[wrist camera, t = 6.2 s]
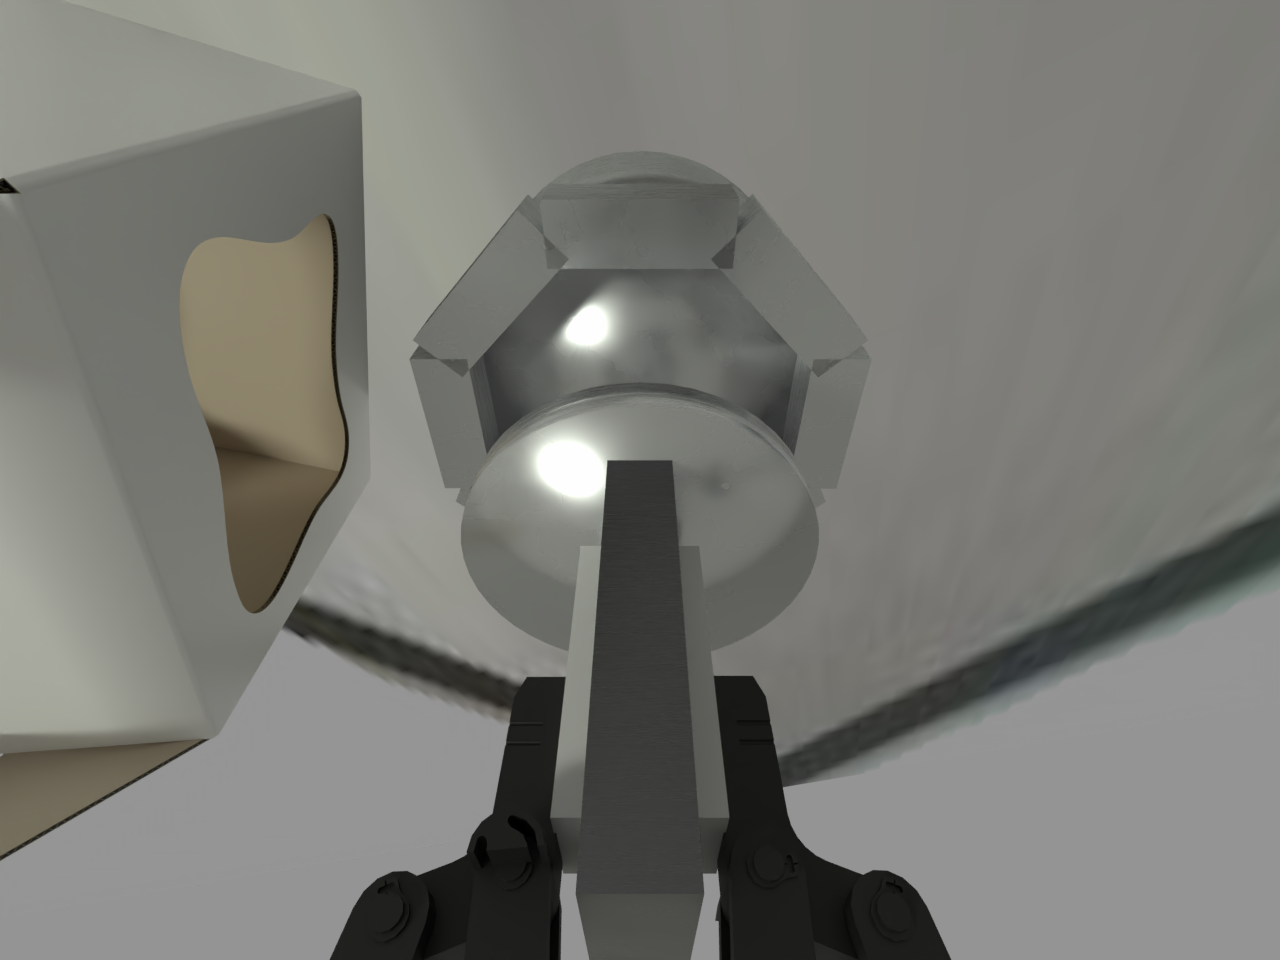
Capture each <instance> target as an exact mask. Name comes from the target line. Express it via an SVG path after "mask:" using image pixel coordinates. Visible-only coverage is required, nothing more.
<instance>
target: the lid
mask: <svg viewBox="0 0 1280 960" xmlns="http://www.w3.org/2000/svg"><path fill="white" fill-rule="evenodd" d="M818 545H819V525H818V519H817V514H816V509H815V506H814V503H813V501H812V498H811V495H810V492H809V490H808V487H807V484H806V481H805V479H804V476H803V474H802V471H801V469H800V466H799V464H798V462H797V460H796V459H795V457H794V456H793V454H792V452H791V451H790V449H789V447H788V446H787V445H786V444H785V443H784V442H783V441H782V439H781V438H780V437H779V436H778V435H777V434H776V433H775V431H773V430H772V429H771V428H770V427H769V426H767V425H766V424H765V423H764V422H763V421H761V420H760V419H759V418H758V417H756V416H754V415H753V414H751V413H750V412H748V411H746V410H745V409H743V408H742V407H740V406H738V405H736V404H734V403H732V402H729V401H727V400H725V399H723V398H720V397H718V396H716V395H712V394H709V393H706V392H703V391H699V390H696V389H693V388H688V387H682V386H676V385H671V384H662V383H645V382H635V383H618V384H609V385H603V386H598V387H592V388H587V389H584V390H580V391H577V392H574V393H571V394H567V395H564V396H562V397H559V398H557V399H555V400H553V401H550V402H548V403H546V404H544V405H542V406H540V407H538V408H537V409H535V410H533V411H532V412H530V413H529V414H527V415H525V416H524V417H522V418H521V419H520V420H518V421H517V422H516V423H515V424H514V425H512V426H511V427H510V428H509V429H508V430H506V431H505V432H504V433H503V434H502V436H501V437H500V438H499V439H498V440H497V441H496V442H495V444H494V445H493V446H492V447H491V449H490V450H489V452H488V453H487V455H486V457H485V458H484V460H483V461H482V463H481V465H480V468H479V470H478V473H477V475H476V478H475V480H474V483H473V486H472V489H471V492H470V494H469V497H468V500H467V503H466V506H465V508H464V513H463V518H462V523H461V546H462V552H463V558H464V561H465V564H466V567H467V569H468V572H469V575H470V576H471V578H472V580H473V582H474V584H475V585H476V587H477V589H478V590H479V592H480V593H481V594H482V595H483V597H484V598H485V599H486V601H487V602H488V603H489V604H490V605H491V606H492V607H493V608H494V609H495V610H496V611H497V612H498V613H499V614H500V615H501V616H503V617H504V618H505V619H506V620H508V621H509V622H510V623H512V624H513V625H514V626H516V627H517V628H519V629H521V630H522V631H524V632H525V633H527V634H529V635H530V636H532V637H534V638H537V639H539V640H541V641H543V642H545V643H547V644H549V645H552V646H555V647H557V648H560V649H563V650H566V651H569V645H570V636H571V627H572V618H573V609H574V600H575V591H576V582H577V573H578V564H579V555H580V546H601V553H600V567H599V581H598V594H597V608H596V622H595V635H594V649H593V662H592V676H591V690H590V703H589V717H588V730H587V744H586V758H585V771H584V785H583V799H582V812H581V826H580V839H579V853H578V867H577V881H576V899H577V903H578V908H579V913H580V918H581V922H582V927H583V932H584V936H585V941H586V946H587V951H588V955H589V960H691V955H692V950H693V946H694V941H695V936H696V931H697V927H698V922H699V917H700V912H701V907H702V903H703V898H704V882H703V868H702V855H701V841H700V827H699V814H698V800H697V787H696V773H695V760H694V746H693V733H692V719H691V706H690V692H689V679H688V665H687V651H686V638H685V624H684V611H683V597H682V584H681V570H680V557H679V546H699V550H700V558H701V567H702V576H703V585H704V594H705V603H706V612H707V621H708V630H709V639H710V648H711V651H714V650H717V649H720V648H722V647H725V646H728V645H730V644H733V643H735V642H737V641H739V640H741V639H743V638H745V637H747V636H749V635H751V634H753V633H754V632H756V631H757V630H759V629H761V628H762V627H764V626H765V625H767V624H768V623H769V622H771V621H772V620H773V619H775V618H776V617H777V616H778V615H780V614H781V613H782V612H783V611H784V610H785V609H786V608H787V607H788V606H789V605H790V604H791V603H792V601H793V600H794V599H795V598H796V596H797V595H798V594H799V592H800V591H801V590H802V588H803V587H804V585H805V583H806V581H807V579H808V578H809V576H810V574H811V571H812V568H813V566H814V563H815V560H816V556H817V550H818Z"/></svg>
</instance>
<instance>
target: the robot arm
mask: <svg viewBox="0 0 1280 960" xmlns="http://www.w3.org/2000/svg"><path fill="white" fill-rule="evenodd" d="M600 553H601V546H580V555H579V564H578V573H577V582H576V591H575V600H574V609H573V618H572V627H571V636H570V645H569V654H568V663H567V672H566V677H526V679H525V681H524V682H523V684H522V685H521V687H520V689H519V690H518V692H517V693H516V695H515V697H514V700H513V705H512V711H511V716H510V725H509V727H508V732H507V738H506V745H505V749H504V754H503V759H502V765H501V770H500V776H499V781H498V786H497V792H496V797H495V803H494V808H493V814H491V815H490V816H488V817H487V818H486V819H484V820H483V821H482V822H481V823H480V824H479V826H478V827H477V829H476V830H475V832H474V833H473V834H472V836H471V839H470V843H469V846H468V849H467V854H466V855H465V856H464V857H461V858H460V859H458V860H456V861H454V862H451V863H449V864H446V865H444V866H441V867H438V868H436V869H433V870H430V871H428V872H425V873H423V874H420V875H415V874H413V873H411V872H409V871H393V872H390V873H388V874H386V875H384V876H382V877H380V878H377V879H376V880H375V881H374V882H373V883H372V884H371V885H370V886H369V887H368V888H367V889H365V890H364V891H363V893H362V894H361V896H360V898H359V899H358V901H357V903H356V904H355V906H354V907H353V909H352V911H351V914H350V916H349V918H348V920H347V922H346V924H345V927H344V929H343V931H342V933H341V935H340V938H339V940H338V942H337V944H336V946H335V949H334V951H333V953H332V955H331V957H330V960H561V921H562V907H561V901H560V888H561V877H562V870H563V873H564V874H577V867H578V853H579V839H580V826H581V812H582V799H583V785H584V771H585V758H586V744H587V730H588V717H589V703H590V690H591V676H592V662H593V649H594V635H595V622H596V608H597V594H598V581H599V567H600ZM679 557H680V570H681V584H682V597H683V611H684V624H685V638H686V651H687V665H688V679H689V692H690V706H691V719H692V733H693V746H694V760H695V773H696V787H697V800H698V814H699V827H700V841H701V855H702V868H703V874H716V873H717V869H718V878H719V888H720V898H719V902H718V906H717V911H716V918H715V921H719V960H951V958H950V955H949V953H948V951H947V949H946V947H945V944H944V942H943V940H942V938H941V936H940V934H939V931H938V929H937V927H936V925H935V923H934V920H933V918H932V916H931V914H930V912H929V910H928V907H927V906H926V904H925V902H924V901H923V899H922V898H921V896H920V895H919V893H918V891H917V890H916V889H915V888H914V887H913V886H912V885H911V884H909V883H908V882H907V881H906V880H905V879H904V878H903V877H900V876H898V875H896V874H894V873H892V872H890V871H886V870H872V871H870V872H868V873H866V874H864V875H863V874H860V873H857V872H854V871H852V870H849V869H847V868H844V867H842V866H839V865H836V864H834V863H831V862H828V861H826V860H824V859H822V858H820V857H818V856H816V855H815V854H814V853H813V852H811V851H810V850H809V849H808V848H806V847H805V846H804V844H803V843H802V842H801V841H800V839H799V838H798V837H797V835H796V834H795V832H794V830H793V828H792V826H791V823H790V820H789V817H788V813H787V807H786V802H785V797H784V791H783V786H782V780H781V775H780V769H779V764H778V759H777V753H776V748H775V745H774V737H773V732H772V726H771V724H770V716H769V710H768V705H767V699H766V696H765V694H764V693H763V691H762V689H761V688H760V686H759V685H758V683H757V681H756V680H755V678H754V677H753V676H714V675H713V666H712V657H711V648H710V639H709V630H708V621H707V612H706V603H705V594H704V585H703V576H702V567H701V558H700V550H699V546H679Z"/></svg>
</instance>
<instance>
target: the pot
mask: <svg viewBox="0 0 1280 960" xmlns="http://www.w3.org/2000/svg"><path fill="white" fill-rule="evenodd" d="M413 341H414V342H416V343H417V344H418V345H419V346H418V347H417V349H416V350H415V352H414V353H413V355H412V356H411V357H410V359H409V360H410V363H411V367H412V371H413V374H414V378H415V382H416V385H417V389H418V392H419V396H420V400H421V403H422V407H423V410H424V414H425V418H426V421H427V425H428V428H429V432H430V436H431V439H432V443H433V447H434V450H435V454H436V457H437V461H438V465H439V468H440V472H441V475H442V479H443V483H444V486H445V488H461V489H460V491H459V494H458V497H457V499H456V502H458V503H459V504H461V505H462V506H464V507H465V506H466V503H467V500H468V497H469V494H470V492H471V489H472V486H473V483H474V480H475V478H476V475H477V473H478V470H479V468H480V465H481V463H482V461H483V460H484V458H485V457H486V455H487V453H488V452H489V450H490V449H491V447H492V446H493V445H494V444H495V442H496V441H497V440H498V439H499V438H500V437H501V436H502V434H503V433H504V432H505V431H506V430H508V429H509V428H510V427H511V426H512V425H514V424H515V423H516V422H517V421H518V420H520V419H521V418H522V417H524V416H525V415H527V414H529V413H530V412H532V411H533V410H535V409H537V408H538V407H540V406H542V405H544V404H546V403H548V402H550V401H553V400H555V399H557V398H559V397H562V396H564V395H567V394H571V393H574V392H577V391H580V390H584V389H587V388H592V387H598V386H603V385H609V384H618V383H635V382H645V383H662V384H671V385H676V386H682V387H688V388H693V389H696V390H699V391H703V392H706V393H709V394H712V395H716V396H718V397H720V398H723V399H725V400H727V401H729V402H732V403H734V404H736V405H738V406H740V407H742V408H743V409H745V410H746V411H748V412H750V413H751V414H753V415H754V416H756V417H758V418H759V419H760V420H761V421H763V422H764V423H765V424H766V425H767V426H769V427H770V428H771V429H772V430H773V431H775V433H776V434H777V435H778V436H779V437H780V438H781V439H782V441H783V442H784V443H785V444H786V445H787V446H788V447H789V449H790V451H791V452H792V454H793V456H794V457H795V459H796V460H797V462H798V464H799V466H800V469H801V471H802V474H803V476H804V479H805V481H806V484H807V487H808V490H809V492H810V495H811V498H812V501H813V503H814V506H815V508H817V507H818V506H820V505H821V504H823V503H825V502H826V501H825V499H824V496H823V493H822V491H821V489H836V488H837V484H838V481H839V477H840V473H841V470H842V466H843V462H844V459H845V455H846V451H847V448H848V444H849V440H850V437H851V433H852V430H853V426H854V422H855V419H856V415H857V411H858V408H859V404H860V400H861V397H862V393H863V389H864V386H865V382H866V378H867V375H868V371H869V367H870V364H871V360H872V359H871V357H870V356H869V354H868V353H867V352H866V350H865V349H864V347H863V346H862V345H863V344H864V343H865V342H867V341H868V339H867V338H866V336H865V335H864V333H863V332H862V331H861V329H860V328H859V326H858V325H857V323H856V322H855V321H854V319H853V318H852V316H851V315H850V314H849V313H848V311H847V310H846V309H845V308H844V306H843V305H842V304H841V303H840V301H839V300H838V299H837V298H836V296H835V295H834V294H833V293H832V291H831V290H830V289H829V288H828V287H827V285H826V284H825V283H824V282H823V280H822V279H821V278H820V277H819V275H818V274H817V273H816V272H815V270H814V269H813V268H812V267H811V265H810V264H809V263H808V262H807V261H806V259H805V258H804V257H803V256H802V254H801V253H800V252H799V251H798V249H797V248H796V247H795V246H794V244H793V243H792V242H791V241H790V239H789V238H788V237H787V236H786V235H785V233H784V232H783V231H782V230H781V228H780V227H779V226H778V225H777V223H776V222H775V221H774V220H773V218H772V217H771V216H770V215H769V214H768V212H767V211H766V210H765V209H764V207H763V206H762V205H761V204H760V202H759V201H758V200H757V199H756V197H755V196H754V195H753V194H752V195H751V196H750V197H749V198H748V197H747V196H746V195H745V194H744V193H743V192H742V190H741V189H740V188H738V187H737V186H736V185H734V184H733V183H732V182H731V181H729V180H728V179H727V178H726V177H724V176H723V175H721V174H719V173H718V172H716V171H714V170H712V169H711V168H709V167H707V166H705V165H703V164H701V163H698V162H695V161H693V160H690V159H688V158H685V157H681V156H677V155H672V154H668V153H663V152H651V151H631V152H619V153H614V154H610V155H606V156H601V157H597V158H595V159H592V160H589V161H587V162H584V163H582V164H579V165H577V166H575V167H573V168H572V169H570V170H568V171H566V172H565V173H563V174H561V175H560V176H558V177H557V178H556V179H554V180H553V181H552V182H550V183H549V184H548V185H547V186H545V187H544V188H543V189H542V190H541V191H540V192H539V193H538V194H537V195H536V196H535V197H534V198H533V199H532V198H531V197H530V196H529V195H528V194H527V196H526V197H525V198H524V199H523V201H522V202H521V203H520V204H519V206H518V207H517V208H516V209H515V211H514V212H513V213H512V214H511V216H510V217H509V218H508V219H507V221H506V222H505V223H504V224H503V226H502V227H501V228H500V229H499V231H498V232H497V233H496V234H495V236H494V237H493V238H492V239H491V241H490V242H489V243H488V244H487V246H486V247H485V248H484V249H483V251H482V252H481V253H480V254H479V256H478V257H477V258H476V259H475V261H474V262H473V263H472V264H471V265H470V267H469V268H468V269H467V270H466V272H465V273H464V274H463V275H462V277H461V278H460V279H459V280H458V282H457V283H456V284H455V285H454V287H453V288H452V289H451V290H450V292H449V293H448V294H447V295H446V297H445V298H444V299H443V300H442V302H441V303H440V304H439V305H438V307H437V308H436V309H435V310H434V312H433V313H432V314H431V315H430V317H429V318H428V319H427V321H426V322H425V324H424V325H423V326H422V328H421V329H420V331H419V332H418V333H417V335H416V336H415V338H414V339H413Z"/></svg>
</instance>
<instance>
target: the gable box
mask: <svg viewBox="0 0 1280 960" xmlns="http://www.w3.org/2000/svg"><path fill="white" fill-rule="evenodd" d="M370 478H371V469H370V428H369V387H368V346H367V305H366V263H365V222H364V181H363V140H362V99H361V96H360V95H359V93H358V92H357V91H356V90H355V89H352V88H349V87H346V86H342V85H339V84H336V83H332V82H329V81H326V80H323V79H319V78H316V77H313V76H310V75H306V74H303V73H300V72H296V71H293V70H290V69H287V68H283V67H280V66H277V65H273V64H270V63H267V62H264V61H260V60H257V59H254V58H250V57H247V56H244V55H241V54H237V53H234V52H231V51H227V50H224V49H221V48H218V47H214V46H211V45H208V44H204V43H201V42H198V41H195V40H191V39H188V38H185V37H181V36H178V35H175V34H172V33H168V32H165V31H162V30H159V29H155V28H152V27H149V26H145V25H142V24H139V23H136V22H132V21H129V20H126V19H122V18H119V17H116V16H113V15H109V14H106V13H103V12H99V11H96V10H93V9H90V8H86V7H83V6H80V5H76V4H73V3H70V2H67V1H63V0H0V754H3V755H2V756H1V757H0V861H1V860H3V859H5V858H6V857H8V856H10V855H11V854H13V853H15V852H17V851H18V850H20V849H22V848H23V847H25V846H27V845H29V844H30V843H32V842H34V841H36V840H37V839H39V838H41V837H42V836H44V835H46V834H48V833H49V832H51V831H53V830H54V829H56V828H58V827H60V826H61V825H63V824H65V823H66V822H68V821H70V820H72V819H73V818H75V817H77V816H79V815H80V814H82V813H84V812H85V811H87V810H89V809H91V808H92V807H94V806H96V805H97V804H99V803H101V802H103V801H104V800H106V799H108V798H110V797H111V796H113V795H115V794H116V793H118V792H120V791H122V790H123V789H125V788H127V787H128V786H130V785H132V784H134V783H135V782H137V781H139V780H141V779H142V778H144V777H146V776H147V775H149V774H151V773H153V772H154V771H156V770H158V769H159V768H161V767H163V766H165V765H166V764H168V763H170V762H171V761H173V760H175V759H177V758H178V757H180V756H182V755H184V754H185V753H187V752H189V751H190V750H192V749H194V748H196V747H197V746H199V745H201V744H202V743H204V742H206V741H208V740H209V739H212V738H214V737H215V736H217V735H218V734H219V733H220V732H221V730H222V728H223V726H224V725H225V723H226V721H227V720H228V718H229V716H230V715H231V713H232V711H233V710H234V708H235V706H236V704H237V703H238V701H239V699H240V698H241V696H242V694H243V693H244V691H245V689H246V688H247V686H248V684H249V683H250V681H251V679H252V677H253V676H254V674H255V672H256V671H257V669H258V667H259V666H260V664H261V662H262V661H263V659H264V657H265V656H266V654H267V652H268V650H269V649H270V647H271V645H272V644H273V642H274V640H275V639H276V637H277V635H278V634H279V632H280V630H281V628H282V627H283V625H284V623H285V622H286V620H287V618H288V617H289V615H290V613H291V612H292V610H293V608H294V607H295V605H296V603H297V601H298V600H299V598H300V596H301V595H302V593H303V591H304V590H305V588H306V586H307V585H308V583H309V581H310V580H311V578H312V576H313V574H314V573H315V571H316V569H317V568H318V566H319V564H320V563H321V561H322V559H323V558H324V556H325V554H326V552H327V551H328V549H329V547H330V546H331V544H332V542H333V541H334V539H335V537H336V536H337V534H338V532H339V531H340V529H341V527H342V525H343V524H344V522H345V520H346V519H347V517H348V515H349V514H350V512H351V510H352V509H353V507H354V505H355V504H356V502H357V500H358V498H359V497H360V495H361V493H362V492H363V490H364V488H365V487H366V485H367V483H368V482H369V480H370Z"/></svg>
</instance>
